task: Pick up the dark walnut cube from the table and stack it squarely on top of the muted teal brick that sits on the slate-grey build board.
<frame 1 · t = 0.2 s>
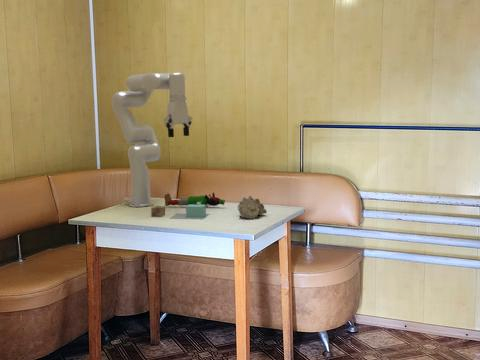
hand: (178, 136, 282), 37 cm above the table, tool pointing down, fingers open, 9 cm apart
build board: (189, 217, 275), on the table
toy: (195, 208, 300), on the table
walnut block: (158, 217, 277), on the table
seashell: (252, 217, 275), on the table
teal brick: (196, 216, 274), point 1 cm above the table, touching build board
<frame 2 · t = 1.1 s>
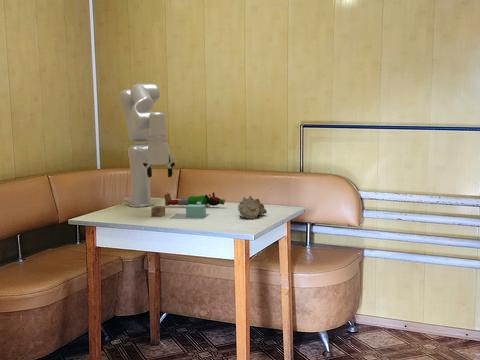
hand: (159, 177, 275), 19 cm above the table, tool pointing down, fingers open, 9 cm apart
nothing on the table moved.
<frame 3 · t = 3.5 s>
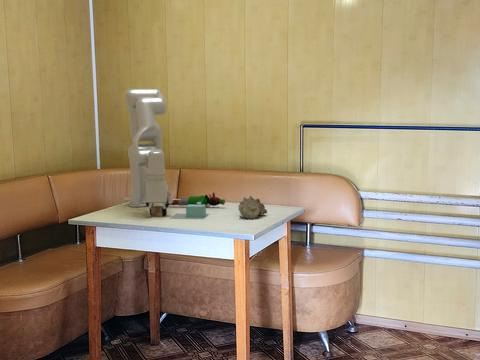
hand: (158, 216, 277), 1 cm above the table, tool pointing down, fingers closed on walnut block, 5 cm apart
walnut block: (158, 217, 277), on the table, touching gripper
everything else where it was.
when the fingers open (7 cm above the table, at t = 7.7 s): walnut block stays where it is, resting on teal brick.
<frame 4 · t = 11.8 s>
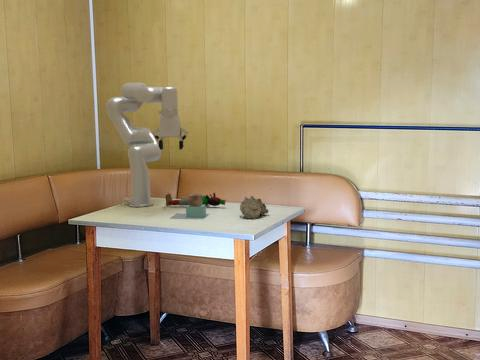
hand: (171, 149, 286), 30 cm above the table, tool pointing down, fingers open, 9 cm apart
walnut block: (195, 205, 273), point 6 cm above the table, touching teal brick
teal brick: (196, 216, 274), point 1 cm above the table, touching build board, walnut block
at the end: walnut block 0.1 cm off-centre on the teal brick, point 5.0 cm above the teal brick's base; walnut block tilted 0°; teal brick moved 0.0 cm from its start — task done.
